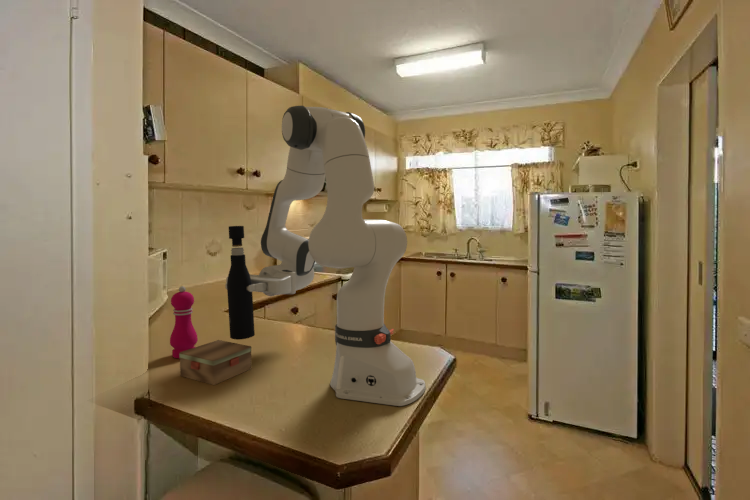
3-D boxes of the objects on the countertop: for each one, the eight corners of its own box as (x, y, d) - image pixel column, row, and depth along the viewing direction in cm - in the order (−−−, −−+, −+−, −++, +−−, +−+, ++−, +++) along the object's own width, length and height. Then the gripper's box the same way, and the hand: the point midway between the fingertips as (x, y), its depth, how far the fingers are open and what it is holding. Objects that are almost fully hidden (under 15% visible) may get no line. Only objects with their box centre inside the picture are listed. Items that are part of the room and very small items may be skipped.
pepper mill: (187, 360, 113) (185, 288, 112) (164, 358, 115) (162, 287, 113) (203, 351, 120) (201, 284, 119) (181, 350, 122) (179, 283, 120)
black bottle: (259, 333, 113) (253, 225, 110) (243, 340, 107) (236, 226, 104) (241, 331, 116) (235, 225, 112) (224, 338, 110) (217, 226, 107)
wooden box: (253, 369, 106) (252, 346, 106) (213, 386, 95) (213, 361, 95) (219, 361, 112) (218, 339, 112) (178, 376, 101) (177, 353, 101)
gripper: (247, 268, 126) (210, 273, 114) (299, 272, 116) (265, 278, 104) (247, 288, 126) (210, 295, 114) (300, 293, 117) (266, 302, 105)
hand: (237, 287), depth 109 cm, fingers closed on black bottle, 6 cm apart
